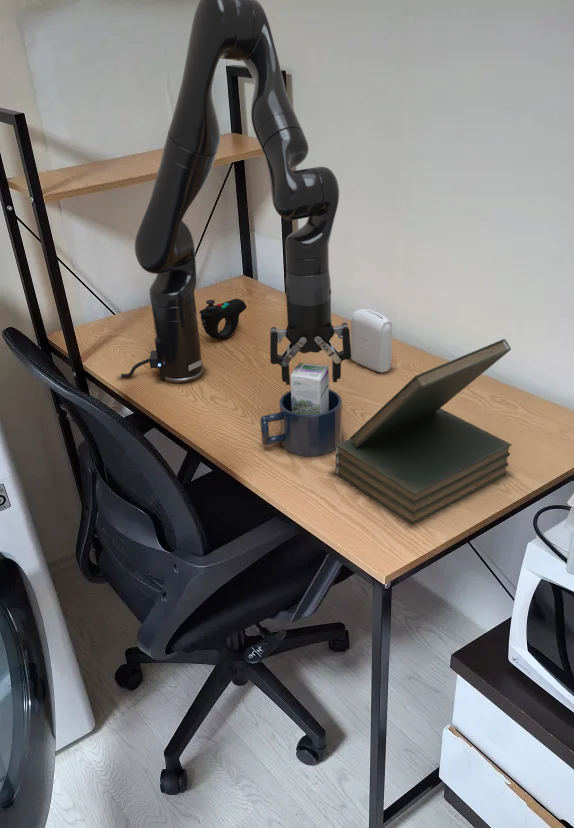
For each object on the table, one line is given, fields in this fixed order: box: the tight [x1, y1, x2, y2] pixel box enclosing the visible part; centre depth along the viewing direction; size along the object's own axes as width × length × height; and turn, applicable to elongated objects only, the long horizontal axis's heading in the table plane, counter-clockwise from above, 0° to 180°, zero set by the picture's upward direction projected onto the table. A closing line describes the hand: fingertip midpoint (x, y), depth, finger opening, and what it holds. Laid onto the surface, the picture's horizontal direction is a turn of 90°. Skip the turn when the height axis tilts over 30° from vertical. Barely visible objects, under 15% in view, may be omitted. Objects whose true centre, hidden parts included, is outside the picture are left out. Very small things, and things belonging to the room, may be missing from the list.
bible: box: [335, 338, 513, 526], centre depth 131 cm, size 23×20×25 cm
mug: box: [259, 388, 343, 457], centre depth 146 cm, size 16×11×8 cm
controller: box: [199, 298, 247, 341], centre depth 186 cm, size 4×12×10 cm, turn 133°
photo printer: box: [350, 308, 393, 374], centre depth 170 cm, size 10×4×12 cm, turn 39°
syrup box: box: [289, 362, 330, 415], centre depth 144 cm, size 6×6×14 cm
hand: (311, 381), depth 141 cm, fingers open, 8 cm apart
